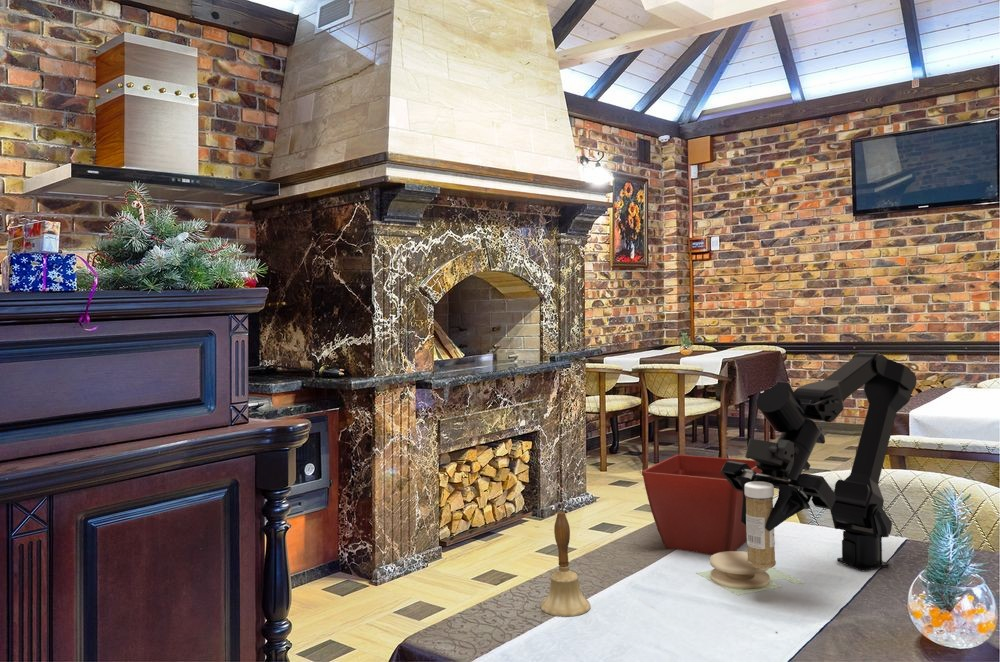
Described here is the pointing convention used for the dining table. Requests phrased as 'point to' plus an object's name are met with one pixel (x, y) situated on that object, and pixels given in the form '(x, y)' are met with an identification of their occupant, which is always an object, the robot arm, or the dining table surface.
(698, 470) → the plant pot
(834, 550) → the dining table surface
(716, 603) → the dining table surface
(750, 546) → the sprinkles bottle
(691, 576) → the dining table surface
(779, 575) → the notched board
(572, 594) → the hand bell
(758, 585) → the bobbin
